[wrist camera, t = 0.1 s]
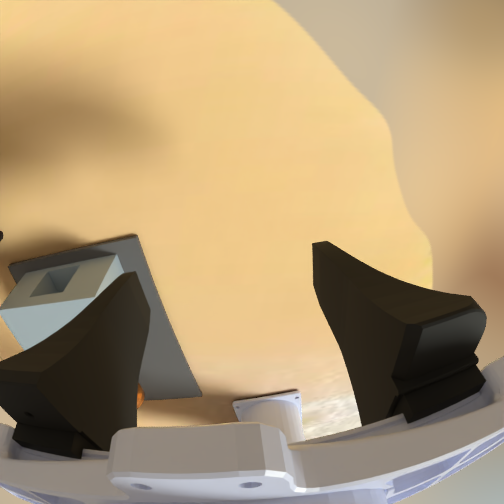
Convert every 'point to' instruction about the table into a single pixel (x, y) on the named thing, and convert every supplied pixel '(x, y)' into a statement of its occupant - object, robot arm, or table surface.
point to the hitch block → (55, 297)
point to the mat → (160, 330)
